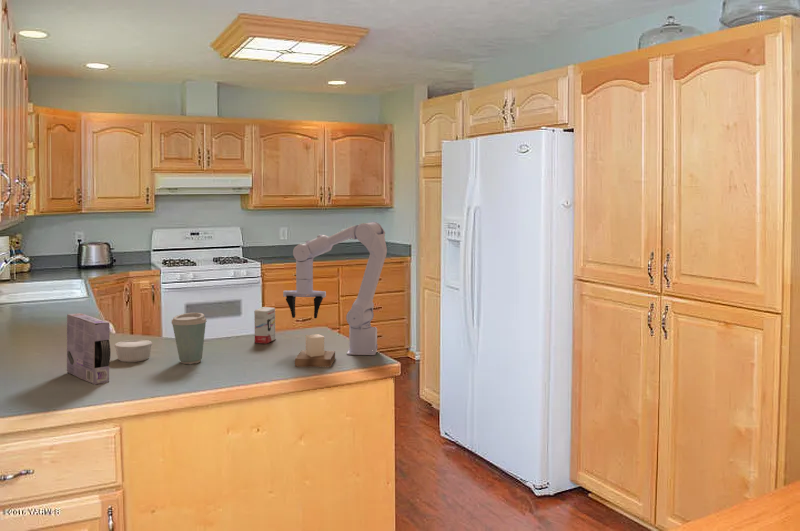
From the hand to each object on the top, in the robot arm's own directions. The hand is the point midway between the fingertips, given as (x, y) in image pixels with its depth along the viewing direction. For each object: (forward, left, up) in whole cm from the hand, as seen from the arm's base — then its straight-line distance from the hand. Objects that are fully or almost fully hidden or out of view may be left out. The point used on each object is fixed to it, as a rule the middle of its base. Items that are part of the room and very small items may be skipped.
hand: (304, 317), depth 242 cm
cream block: (-7, +20, -8) cm, 23 cm away
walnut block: (-8, +21, -11) cm, 24 cm away
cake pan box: (+54, +45, -11) cm, 71 cm away
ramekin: (+51, +22, -11) cm, 57 cm away
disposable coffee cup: (+32, +24, -11) cm, 41 cm away
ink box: (+16, -8, -11) cm, 21 cm away
